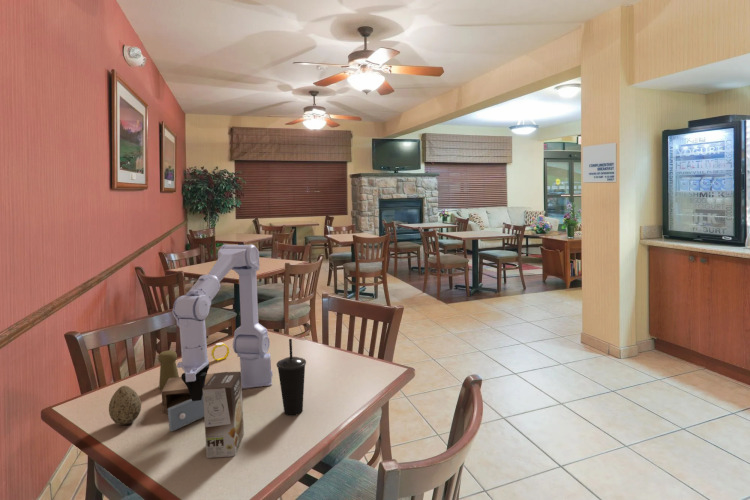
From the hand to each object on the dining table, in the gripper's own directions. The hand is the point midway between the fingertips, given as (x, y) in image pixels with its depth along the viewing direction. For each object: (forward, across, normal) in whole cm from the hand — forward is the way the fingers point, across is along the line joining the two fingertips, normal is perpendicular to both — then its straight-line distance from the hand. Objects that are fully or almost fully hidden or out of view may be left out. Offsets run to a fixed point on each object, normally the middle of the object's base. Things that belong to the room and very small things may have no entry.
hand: (197, 397), depth 104 cm
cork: (+9, -30, -13) cm, 34 cm away
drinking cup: (+9, -3, +23) cm, 25 cm away
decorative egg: (+9, -9, -19) cm, 23 cm away
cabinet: (+8, -16, -3) cm, 19 cm away
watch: (+9, -49, 0) cm, 50 cm away
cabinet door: (+8, -6, 0) cm, 10 cm away
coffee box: (+9, +9, +7) cm, 14 cm away
